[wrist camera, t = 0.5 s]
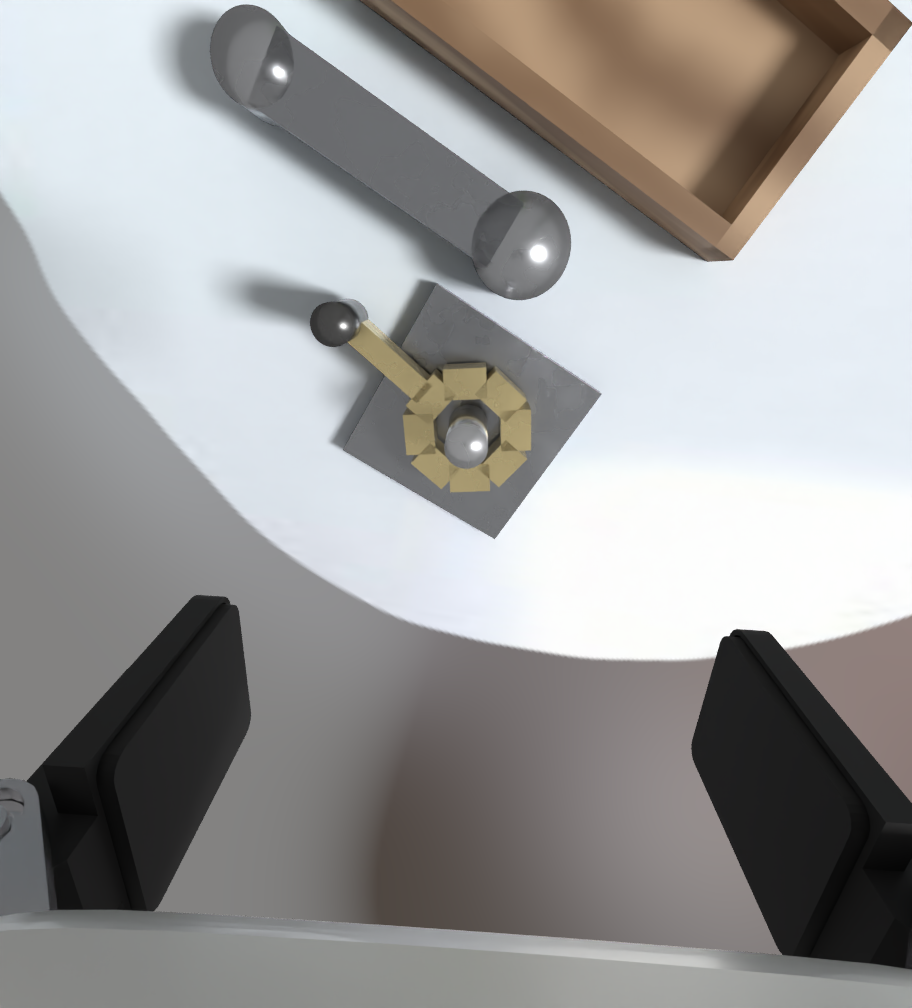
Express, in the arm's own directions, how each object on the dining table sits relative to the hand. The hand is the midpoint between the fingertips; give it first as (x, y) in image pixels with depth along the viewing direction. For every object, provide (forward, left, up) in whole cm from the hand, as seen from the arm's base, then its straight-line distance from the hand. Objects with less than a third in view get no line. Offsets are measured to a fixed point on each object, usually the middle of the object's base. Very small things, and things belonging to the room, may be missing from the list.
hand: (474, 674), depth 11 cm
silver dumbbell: (-8, -11, -27) cm, 30 cm away
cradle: (-19, -5, -27) cm, 33 cm away
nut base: (+2, 0, -27) cm, 27 cm away
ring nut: (+1, -3, -25) cm, 25 cm away
